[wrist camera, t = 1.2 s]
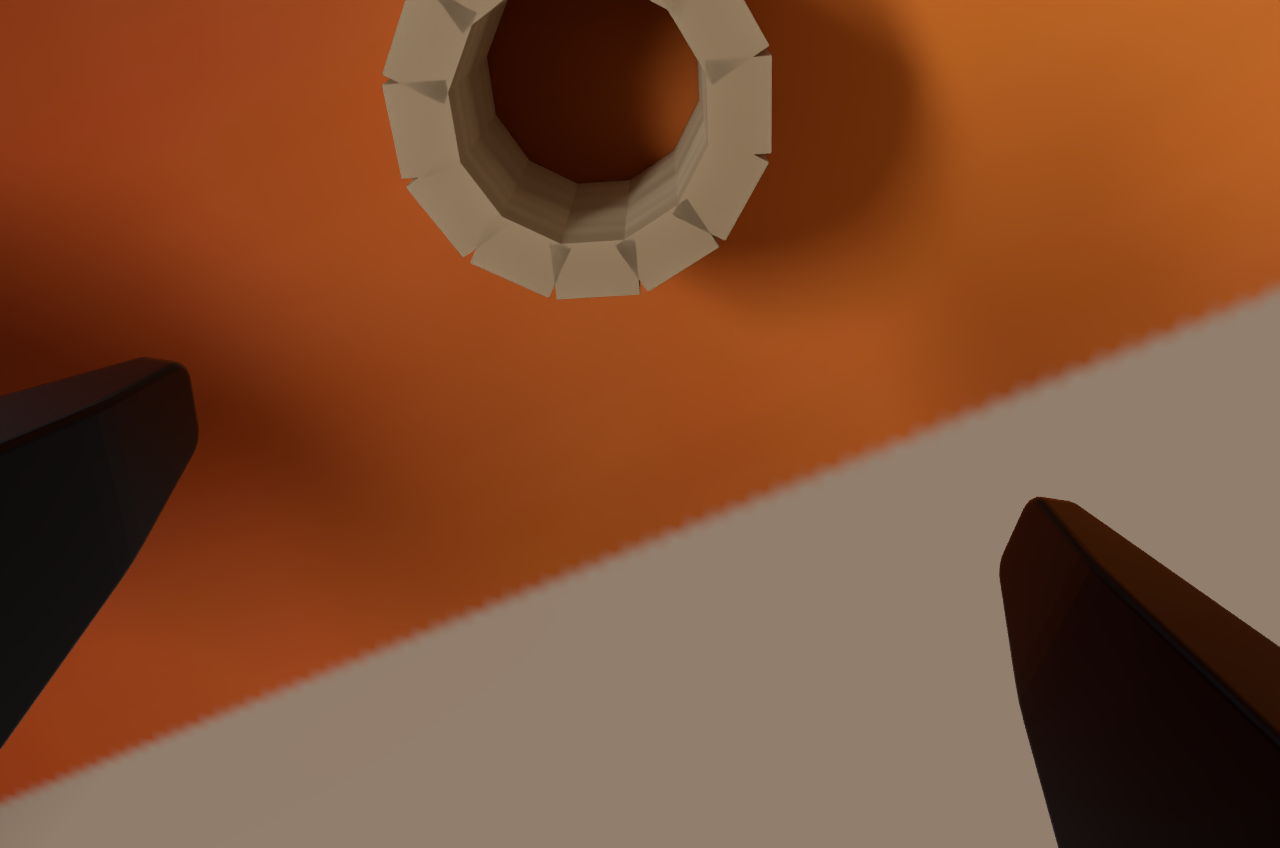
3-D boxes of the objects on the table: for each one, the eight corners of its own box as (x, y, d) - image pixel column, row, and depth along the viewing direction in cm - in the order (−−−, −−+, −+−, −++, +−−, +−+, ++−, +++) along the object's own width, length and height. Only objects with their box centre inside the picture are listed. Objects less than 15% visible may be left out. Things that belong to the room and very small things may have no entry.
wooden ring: (467, 238, 20) (428, 307, 17) (408, -89, 17) (345, -86, 14) (751, 220, 20) (770, 286, 17) (749, -117, 17) (772, -122, 13)
